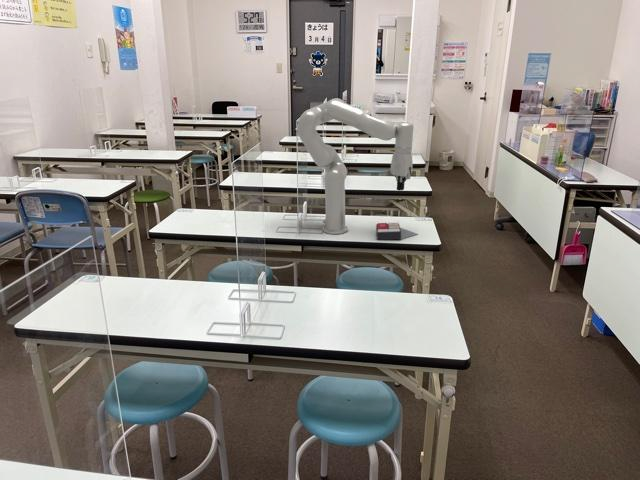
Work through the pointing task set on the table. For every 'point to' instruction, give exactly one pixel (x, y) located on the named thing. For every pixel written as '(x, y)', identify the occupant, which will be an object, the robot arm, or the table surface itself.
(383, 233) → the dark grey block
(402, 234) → the mat
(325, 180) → the robot arm
